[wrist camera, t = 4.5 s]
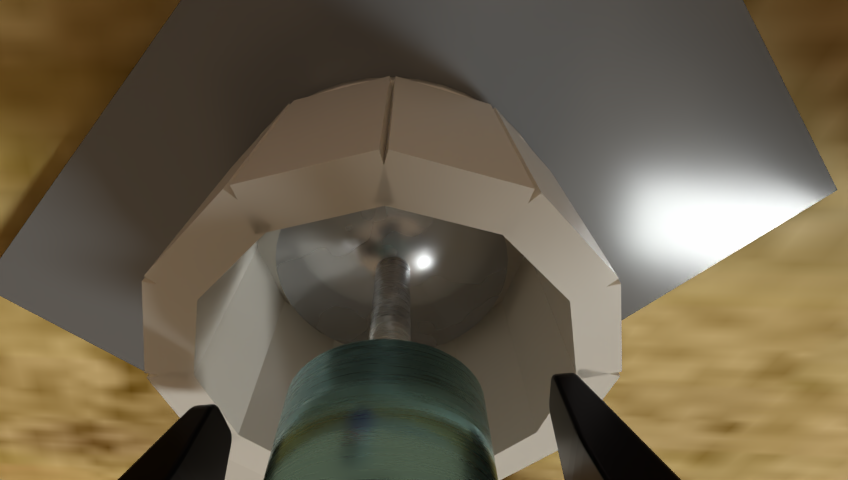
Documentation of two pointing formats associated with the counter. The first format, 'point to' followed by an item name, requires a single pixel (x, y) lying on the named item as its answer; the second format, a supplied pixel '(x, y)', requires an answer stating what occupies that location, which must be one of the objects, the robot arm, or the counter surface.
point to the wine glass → (387, 348)
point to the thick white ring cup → (361, 190)
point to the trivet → (455, 68)
